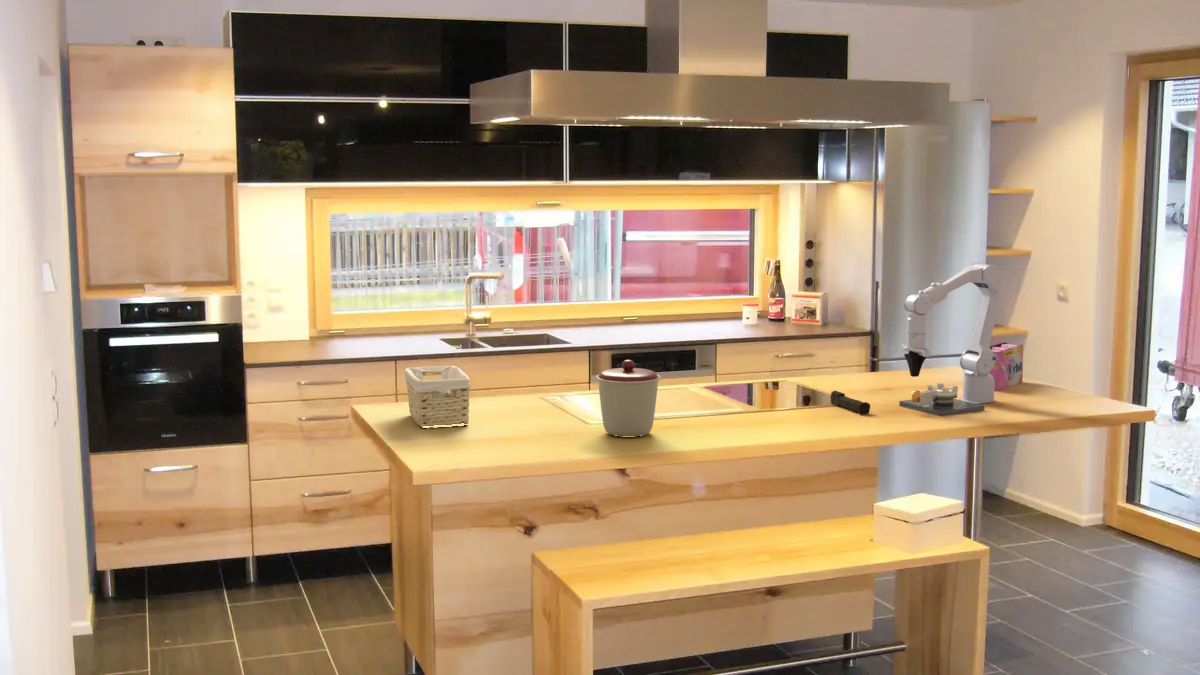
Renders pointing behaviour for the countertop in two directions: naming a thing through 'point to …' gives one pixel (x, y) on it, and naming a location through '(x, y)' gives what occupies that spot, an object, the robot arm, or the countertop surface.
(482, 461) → the countertop surface
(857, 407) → the hand tool
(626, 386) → the canister
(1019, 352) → the gum box
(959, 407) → the plate
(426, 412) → the storage basket
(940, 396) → the grey mechanical part
